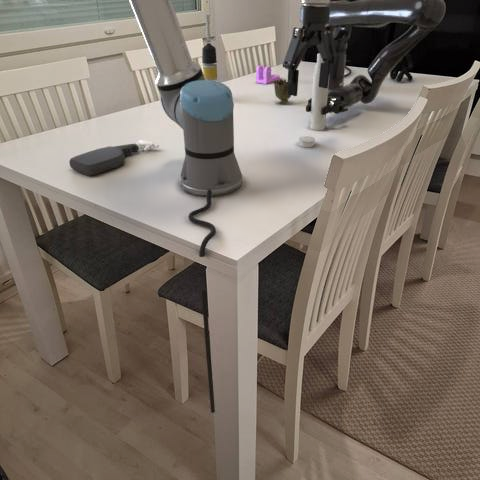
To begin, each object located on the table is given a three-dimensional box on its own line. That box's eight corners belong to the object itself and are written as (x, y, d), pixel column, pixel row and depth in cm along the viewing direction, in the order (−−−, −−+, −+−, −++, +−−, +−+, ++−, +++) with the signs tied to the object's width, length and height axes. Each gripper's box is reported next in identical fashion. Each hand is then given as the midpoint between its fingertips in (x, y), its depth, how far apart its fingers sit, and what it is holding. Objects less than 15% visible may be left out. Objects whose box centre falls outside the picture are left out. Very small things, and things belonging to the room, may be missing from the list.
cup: (270, 104, 170) (270, 82, 166) (278, 99, 176) (278, 78, 171) (288, 106, 167) (289, 84, 163) (295, 101, 173) (296, 80, 168)
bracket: (266, 84, 198) (266, 67, 194) (256, 82, 201) (256, 66, 197) (281, 78, 207) (282, 62, 203) (271, 77, 210) (272, 61, 206)
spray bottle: (67, 168, 120) (139, 144, 136) (91, 178, 114) (163, 151, 130) (65, 157, 118) (137, 134, 134) (89, 167, 112) (162, 142, 128)
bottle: (308, 125, 148) (313, 52, 136) (323, 125, 148) (329, 52, 136) (311, 130, 143) (316, 55, 131) (326, 130, 144) (332, 55, 132)
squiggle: (400, 92, 202) (376, 71, 205) (417, 76, 202) (392, 56, 205) (405, 81, 191) (380, 59, 194) (423, 64, 191) (397, 42, 194)
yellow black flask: (220, 99, 177) (217, 15, 161) (206, 100, 176) (202, 16, 160) (215, 96, 182) (212, 14, 166) (202, 97, 180) (197, 14, 164)
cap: (306, 148, 130) (306, 142, 129) (295, 144, 133) (296, 138, 132) (317, 145, 132) (317, 139, 131) (306, 141, 135) (307, 135, 134)
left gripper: (295, 8, 103) (289, 101, 114) (356, 4, 118) (345, 86, 129) (271, 6, 108) (267, 95, 119) (332, 2, 123) (324, 82, 134)
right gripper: (323, 84, 153) (296, 94, 142) (361, 90, 145) (335, 101, 134) (321, 106, 157) (294, 118, 146) (358, 113, 149) (333, 126, 138)
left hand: (308, 91), depth 124 cm, fingers open, 13 cm apart
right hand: (314, 110), depth 140 cm, fingers open, 5 cm apart
